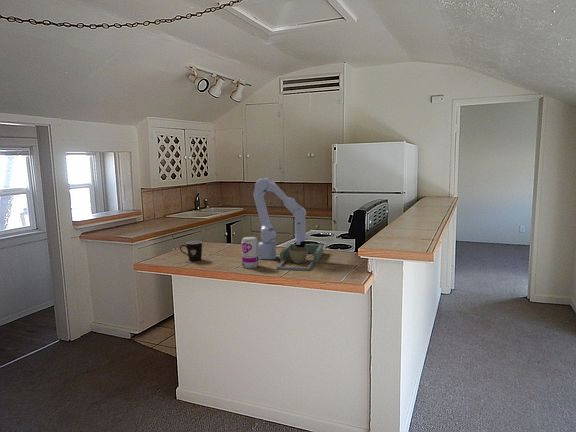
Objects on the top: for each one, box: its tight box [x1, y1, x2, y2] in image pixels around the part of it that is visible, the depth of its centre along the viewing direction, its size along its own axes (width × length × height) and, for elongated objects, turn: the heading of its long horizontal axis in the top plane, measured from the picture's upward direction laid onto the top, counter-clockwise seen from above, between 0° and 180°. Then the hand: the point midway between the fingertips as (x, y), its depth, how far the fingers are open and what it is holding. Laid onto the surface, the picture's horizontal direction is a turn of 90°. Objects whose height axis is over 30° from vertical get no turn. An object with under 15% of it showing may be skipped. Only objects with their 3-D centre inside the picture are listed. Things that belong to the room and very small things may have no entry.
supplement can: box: [240, 236, 259, 269], centre depth 218 cm, size 8×8×15 cm
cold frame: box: [279, 243, 324, 264], centre depth 235 cm, size 20×23×5 cm
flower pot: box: [289, 247, 308, 265], centre depth 224 cm, size 10×10×7 cm
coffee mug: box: [179, 240, 203, 263], centre depth 235 cm, size 12×9×10 cm
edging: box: [276, 259, 315, 272], centre depth 217 cm, size 16×14×1 cm
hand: (300, 254), depth 231 cm, fingers closed
